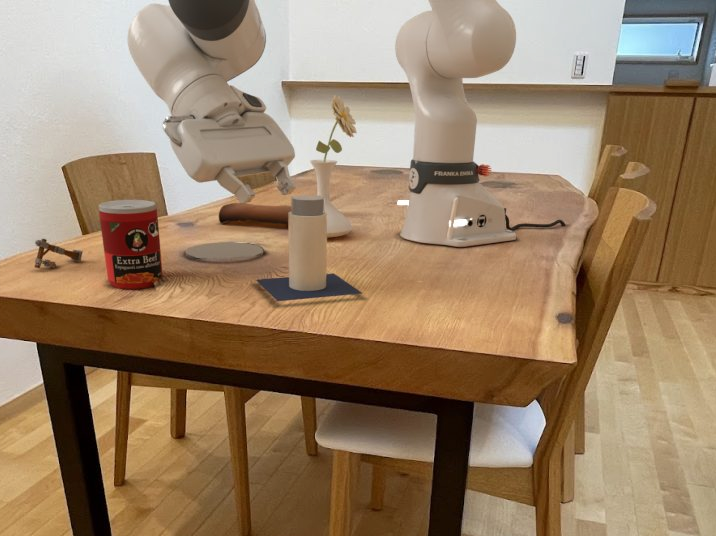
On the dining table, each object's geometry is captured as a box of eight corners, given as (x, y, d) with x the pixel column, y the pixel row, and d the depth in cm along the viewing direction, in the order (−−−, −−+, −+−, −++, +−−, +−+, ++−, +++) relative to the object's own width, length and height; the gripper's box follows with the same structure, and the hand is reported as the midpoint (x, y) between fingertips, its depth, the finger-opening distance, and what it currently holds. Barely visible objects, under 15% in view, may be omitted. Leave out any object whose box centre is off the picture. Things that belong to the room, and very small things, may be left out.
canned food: (113, 292, 90) (103, 210, 86) (103, 278, 96) (93, 201, 92) (169, 286, 93) (162, 206, 89) (156, 273, 100) (148, 198, 95)
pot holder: (333, 278, 99) (333, 273, 98) (362, 298, 89) (362, 293, 89) (255, 284, 95) (255, 279, 94) (277, 306, 85) (277, 300, 85)
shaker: (318, 279, 95) (319, 194, 90) (331, 289, 90) (333, 199, 86) (284, 282, 93) (283, 195, 88) (295, 292, 89) (295, 201, 84)
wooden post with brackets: (26, 265, 99) (32, 235, 98) (69, 276, 106) (75, 248, 106) (34, 267, 98) (40, 237, 98) (77, 277, 105) (83, 250, 105)
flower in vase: (323, 244, 120) (325, 95, 110) (280, 235, 127) (279, 93, 117) (369, 235, 129) (375, 95, 119) (327, 226, 136) (329, 94, 126)
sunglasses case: (313, 220, 139) (308, 195, 133) (304, 243, 135) (298, 218, 129) (235, 215, 143) (227, 190, 138) (224, 237, 139) (215, 212, 134)
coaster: (252, 243, 120) (252, 240, 120) (272, 259, 109) (272, 256, 109) (180, 248, 116) (179, 244, 115) (193, 265, 104) (192, 261, 104)
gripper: (167, 98, 80) (234, 188, 80) (268, 98, 96) (323, 173, 96) (144, 135, 84) (208, 221, 84) (245, 129, 100) (298, 202, 100)
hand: (270, 195), depth 90 cm, fingers open, 8 cm apart
